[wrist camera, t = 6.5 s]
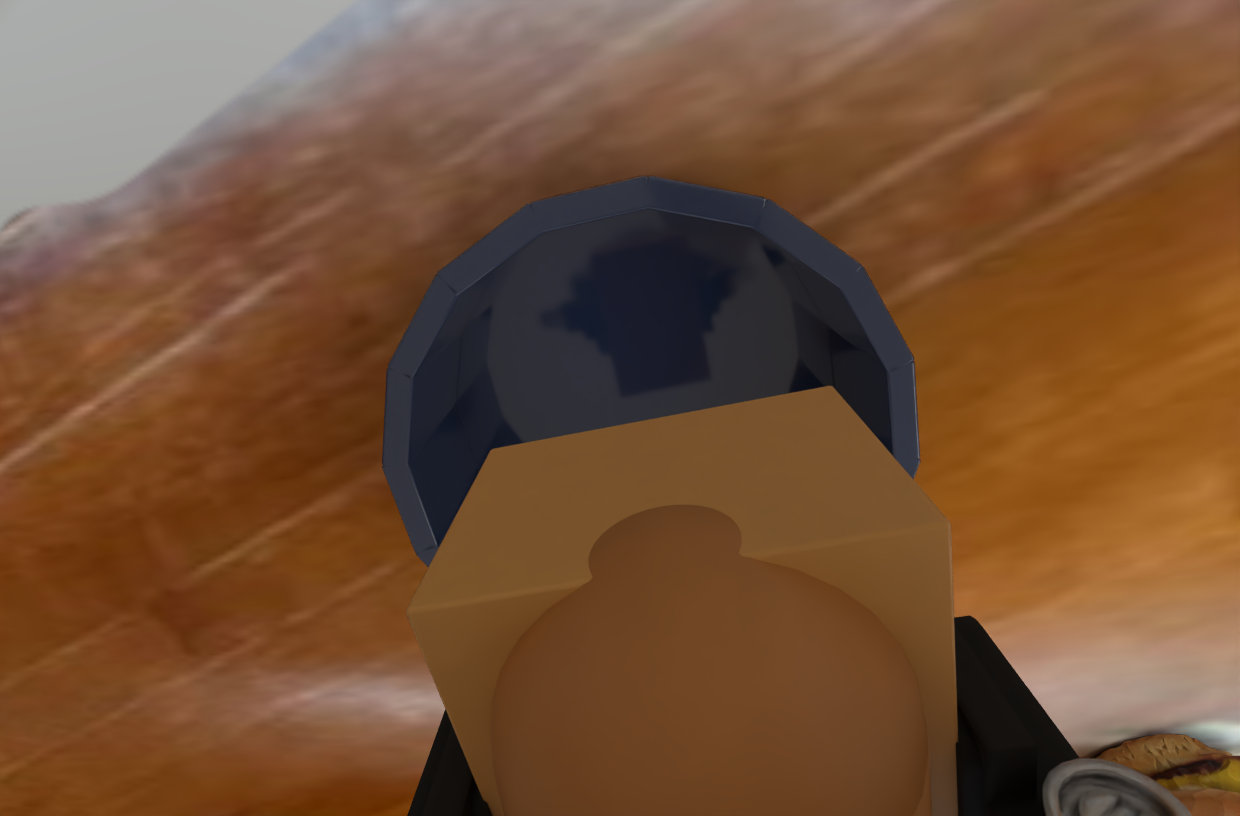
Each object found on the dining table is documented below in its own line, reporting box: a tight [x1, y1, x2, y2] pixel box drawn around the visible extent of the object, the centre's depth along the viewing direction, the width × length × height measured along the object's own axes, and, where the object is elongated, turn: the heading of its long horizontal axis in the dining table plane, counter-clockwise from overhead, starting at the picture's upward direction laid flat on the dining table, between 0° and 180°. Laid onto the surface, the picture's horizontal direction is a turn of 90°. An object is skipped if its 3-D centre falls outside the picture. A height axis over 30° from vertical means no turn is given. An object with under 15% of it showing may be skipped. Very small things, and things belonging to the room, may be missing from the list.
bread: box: [406, 386, 958, 816], centre depth 9 cm, size 9×6×6 cm, turn 12°
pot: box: [382, 175, 920, 567], centre depth 21 cm, size 16×16×6 cm
